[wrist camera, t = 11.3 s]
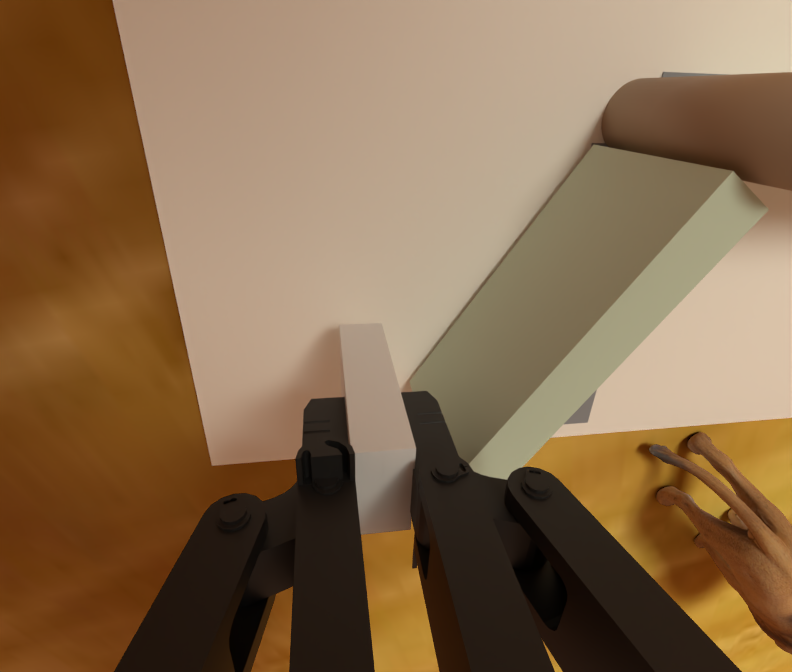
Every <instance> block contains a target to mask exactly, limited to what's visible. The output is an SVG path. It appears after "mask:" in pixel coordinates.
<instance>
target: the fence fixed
mask: <svg viewBox="0 0 792 672" xmlns="http://www.w3.org/2000/svg"><path fill="white" fill-rule="evenodd" d="M601 129H602V136H603V139H604V142H605V143H606V144H607V146H608V147H610V148H615V149H620V150H626V151H631V152H636V153H641V154H647V155H652V156H657V157H662V158H667V159H673V160H678V161H683V162H688V163H694V164H699V165H704V166H709V167H715V168H720V169H725V170H730V171H734V172H735V174H736V175H737V176H738V177H739V178H740V179H741V180H742V181H747V182H752V183H756V184H761V185H766V186H771V187H775V188H780V189H785V190H790V191H792V72H781V73H757V74H733V75H709V76H685V77H661V78H640V79H635V80H632V81H630V82H628V83H626V84H625V85H623V86H622V87H621V88H619V89H618V90H617V91H616V92H615V93H614V95H613V96H612V97H611V99H610V100H609V102H608V104H607V106H606V108H605V111H604V114H603V117H602V126H601Z"/></svg>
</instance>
